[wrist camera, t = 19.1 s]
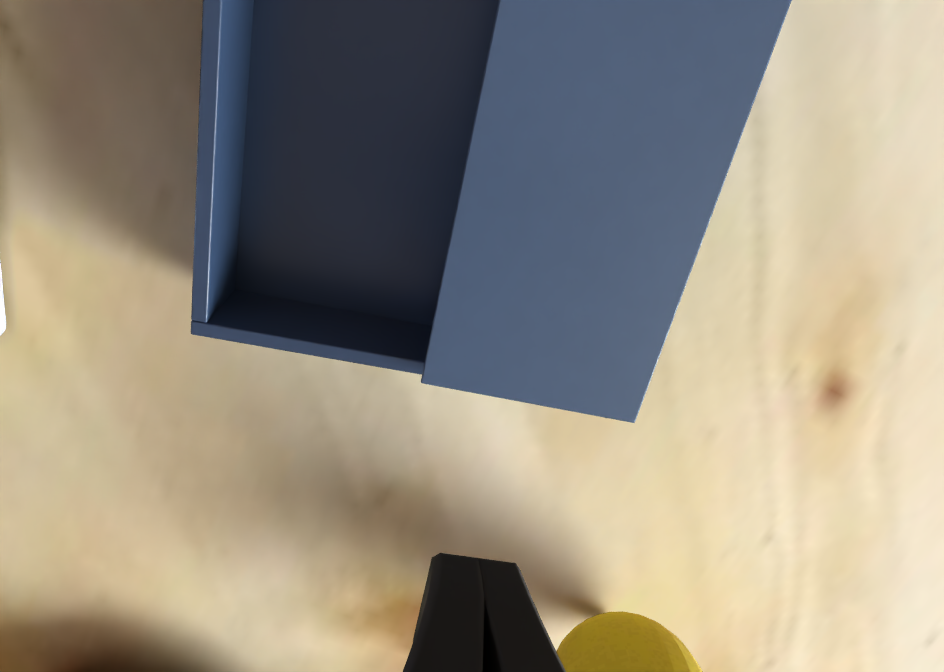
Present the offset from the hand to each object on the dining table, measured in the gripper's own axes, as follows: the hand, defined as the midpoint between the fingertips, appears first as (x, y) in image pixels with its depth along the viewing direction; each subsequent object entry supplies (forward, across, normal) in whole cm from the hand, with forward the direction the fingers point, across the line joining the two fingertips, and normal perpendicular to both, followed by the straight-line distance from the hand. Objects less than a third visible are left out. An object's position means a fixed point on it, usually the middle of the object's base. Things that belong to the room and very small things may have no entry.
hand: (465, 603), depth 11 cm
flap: (+7, -2, -6) cm, 10 cm away
